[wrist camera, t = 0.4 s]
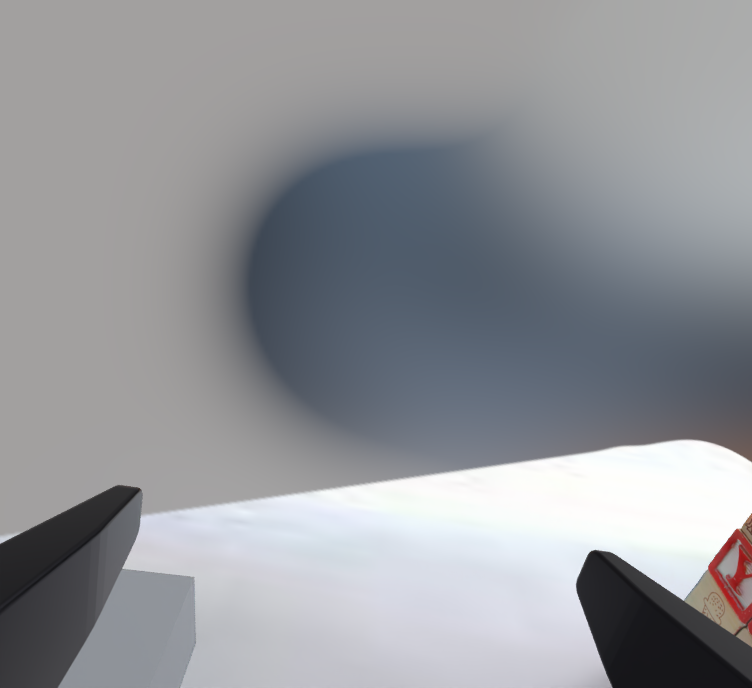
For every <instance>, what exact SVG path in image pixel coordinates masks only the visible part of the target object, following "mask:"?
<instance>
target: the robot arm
mask: <svg viewBox="0 0 752 688" xmlns="http://www.w3.org/2000/svg"><path fill="white" fill-rule="evenodd" d="M142 496H143V495H142V490H141V489H140V488H138V487H131V486H123V485H117V486H115V487H112V488H110V489H108V490H106V491H104V492H102V493H101V494H98V495H96V496H94V497H92V498H91V499H88V500H86V501H84V502H82V503H80V504H78V505H77V506H75V507H73V508H71V509H69V510H67V511H65V512H63V513H61V514H59V515H57V516H55V517H53V518H51V519H49V520H47V521H45V522H43V523H41V524H39V525H37V526H35V527H33V528H31V529H29V530H27V531H25V532H23V533H21V534H19V535H17V536H15V537H13V538H11V539H9V540H7V541H5V542H3V543H1V544H0V688H58V687H59V685H60V683H61V682H62V680H63V678H64V677H65V675H66V673H67V672H68V670H69V668H70V667H71V665H72V663H73V662H74V660H75V658H76V657H77V655H78V653H79V652H80V650H81V648H82V647H83V645H84V643H85V642H86V640H87V638H88V637H89V635H90V633H91V631H92V629H93V628H94V626H95V624H96V622H97V620H98V618H99V616H100V614H101V612H102V610H103V608H104V606H105V603H106V601H107V599H108V597H109V595H110V593H111V591H112V589H113V586H114V584H115V582H116V580H117V578H118V576H119V574H120V572H121V570H122V567H123V565H124V563H125V561H126V559H127V557H128V555H129V553H130V551H131V548H132V546H133V544H134V542H135V540H136V537H137V535H138V531H139V527H140V518H141V507H142ZM576 589H577V594H578V597H579V600H580V602H581V605H582V608H583V611H584V614H585V616H586V619H587V622H588V625H589V627H590V630H591V633H592V636H593V639H594V641H595V644H596V647H597V650H598V652H599V655H600V658H601V661H602V663H603V666H604V669H605V671H606V674H607V676H608V678H609V681H610V683H611V685H612V688H752V647H751V646H750V645H748V644H747V643H745V642H744V641H742V640H741V639H739V638H738V637H736V636H735V635H733V634H732V633H730V632H729V631H727V630H726V629H724V628H723V627H721V626H720V625H718V624H717V623H716V622H714V621H713V620H711V619H710V618H708V617H707V616H705V615H704V614H702V613H701V612H699V611H698V610H696V609H695V608H693V607H692V606H690V605H689V604H687V603H686V602H684V601H683V600H682V599H680V598H679V597H677V596H676V595H674V594H673V593H671V592H670V591H668V590H667V589H665V588H664V587H662V586H661V585H659V584H658V583H656V582H655V581H653V580H652V579H650V578H649V577H647V576H646V575H645V574H643V573H642V572H640V571H639V570H637V569H636V568H634V567H633V566H631V565H630V564H628V563H627V562H625V561H624V560H622V559H621V558H619V557H618V556H616V555H615V554H613V553H611V552H606V551H599V550H593V551H591V552H590V553H589V554H588V556H587V558H586V560H585V562H584V565H583V567H582V569H581V572H580V574H579V576H578V579H577V583H576Z"/></svg>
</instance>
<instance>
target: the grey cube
mask: <svg viewBox="0 0 752 688" xmlns="http://www.w3.org/2000/svg"><path fill="white" fill-rule="evenodd" d="M195 644H196V632H195V588H194V577H189V576H180V575H172V574H163V573H154V572H145V571H136V570H127V569H122V570H121V572H120V574H119V576H118V578H117V580H116V582H115V584H114V586H113V589H112V591H111V593H110V595H109V597H108V599H107V601H106V603H105V606H104V608H103V610H102V612H101V614H100V616H99V618H98V620H97V622H96V624H95V626H94V628H93V629H92V631H91V633H90V635H89V637H88V638H87V640H86V642H85V643H84V645H83V647H82V648H81V650H80V652H79V653H78V655H77V657H76V658H75V660H74V662H73V663H72V665H71V667H70V668H69V670H68V672H67V673H66V675H65V677H64V678H63V680H62V682H61V683H60V685H59V687H58V688H180V686H181V683H182V680H183V677H184V675H185V672H186V669H187V666H188V663H189V661H190V658H191V655H192V652H193V649H194V646H195Z"/></svg>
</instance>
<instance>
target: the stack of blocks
mask: <svg viewBox="0 0 752 688" xmlns="http://www.w3.org/2000/svg"><path fill="white" fill-rule="evenodd" d="M684 602H686V603H687V604H689V605H690V606H692V607H693V608H695V609H696V610H698V611H699V612H701V613H702V614H704V615H705V616H707V617H708V618H710V619H711V620H713V621H714V622H716V623H717V624H718V625H720V626H721V627H723V628H724V629H726V630H727V631H729V632H730V633H732V634H733V635H735V636H736V637H738V638H739V639H741V640H742V641H744V642H745V643H747V644H748V645H750V646H751V647H752V514H751V515H750V516H749V518H748V519H747V520H746V522H745V523H744V525H743V527H742V529H736V530H735V531H734V533H733V534H732V535H731V537H730V538H729V539H728V540H727V542H726V543H725V544H724V546H723V547H722V548H721V549H720V551H719V552H718V553H717V554H716V555H715V557H714V559H713V560H712V562H711V563H710V564H709V566H708V570H707V571H706V572H705V573H704V574H703V576H702V577H701V579H700V580H699V581H698V583H697V584H696V585H695V587H694V588H693V589H692V591H691V592H690V593H689V594H688V596H687V597H686V598H685V600H684Z"/></svg>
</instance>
